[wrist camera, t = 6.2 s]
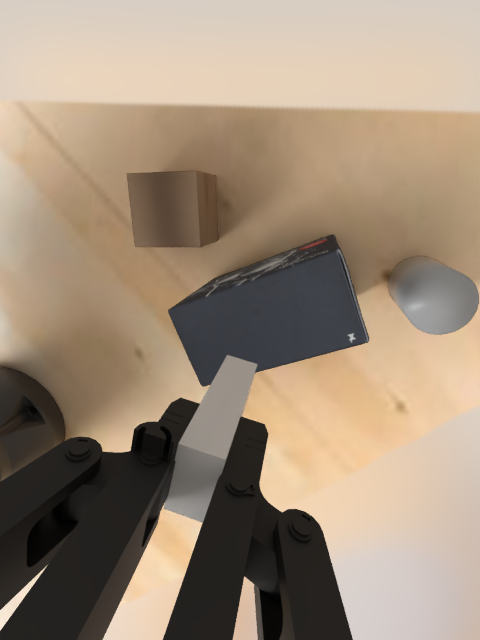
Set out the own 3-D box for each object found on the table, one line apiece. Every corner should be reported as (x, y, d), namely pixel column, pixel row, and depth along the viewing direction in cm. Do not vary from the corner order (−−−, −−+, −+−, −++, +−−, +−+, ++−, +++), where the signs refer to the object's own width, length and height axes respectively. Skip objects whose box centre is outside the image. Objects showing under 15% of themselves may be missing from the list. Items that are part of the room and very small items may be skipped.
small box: (334, 230, 33) (343, 245, 22) (356, 297, 34) (375, 343, 23) (210, 277, 37) (164, 310, 26) (234, 335, 38) (201, 391, 27)
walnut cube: (162, 240, 37) (135, 247, 31) (157, 177, 35) (126, 173, 29) (218, 239, 35) (200, 247, 30) (215, 175, 33) (196, 170, 28)
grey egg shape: (379, 300, 34) (394, 323, 27) (400, 249, 32) (421, 262, 26) (431, 315, 33) (460, 342, 27) (455, 264, 32) (492, 281, 25)
